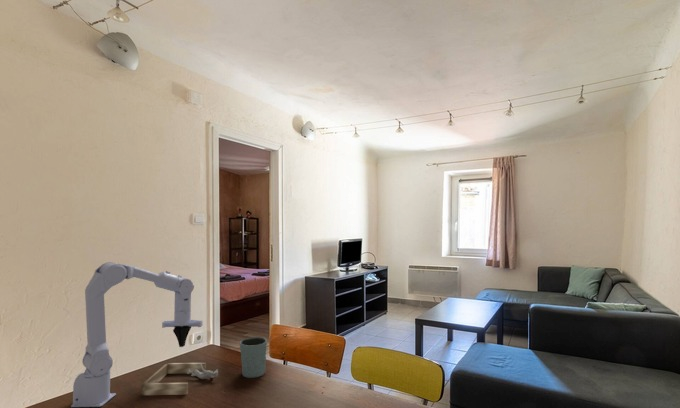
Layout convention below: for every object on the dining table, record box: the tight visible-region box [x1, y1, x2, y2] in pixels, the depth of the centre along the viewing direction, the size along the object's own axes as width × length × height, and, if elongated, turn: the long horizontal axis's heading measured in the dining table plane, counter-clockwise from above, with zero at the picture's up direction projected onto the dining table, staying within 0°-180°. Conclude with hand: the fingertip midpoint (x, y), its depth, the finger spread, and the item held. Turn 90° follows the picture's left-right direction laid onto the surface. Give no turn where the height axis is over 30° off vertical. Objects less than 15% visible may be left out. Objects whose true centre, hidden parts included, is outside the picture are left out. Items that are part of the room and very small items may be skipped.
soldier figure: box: [186, 364, 219, 380], centre depth 132 cm, size 8×5×12 cm
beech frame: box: [140, 362, 207, 396], centre depth 129 cm, size 15×18×4 cm
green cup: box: [239, 336, 268, 379], centre depth 137 cm, size 10×10×12 cm
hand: (182, 346), depth 137 cm, fingers closed
